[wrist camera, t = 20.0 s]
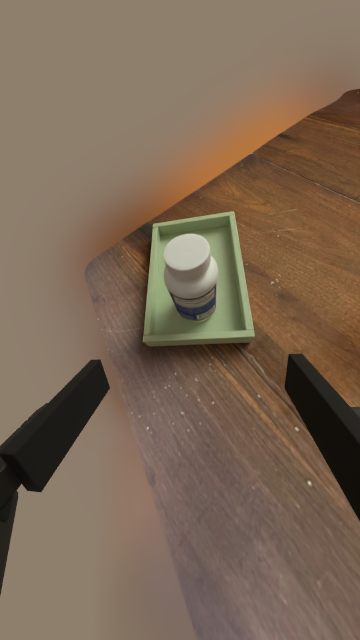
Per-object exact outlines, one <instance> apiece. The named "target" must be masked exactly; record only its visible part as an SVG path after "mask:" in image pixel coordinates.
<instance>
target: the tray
mask: <svg viewBox="0 0 360 640" xmlns="http://www.w3.org/2000/svg"><path fill="white" fill-rule="evenodd" d="M183 234H197V235H200V236H202V237H204V238H205V239H206V240H207V242H208V243H209V246H210V254H211V256H212V257H213V259H214V260H215V262H216V264H217V267H218V291H217V307H216V310H215V312H214V313H213V315H212V316H211V317H210V318H208V319H207V320H205V321H202V322H189V321H187V320H185V319H183V318H182V317H181V316H180V315H179V313H178V311H177V309H176V307H175V305H174V303H173V300H172V298H171V296H170V293H169V291H168V289H167V287H166V285H165V282H164V269H165V266H166V265H165V262H164V258H163V252H164V249H165V247H166V245H167V244H168V243H169V242H170V241H171V240H172V239H174V238H175V237H177V236H180V235H183ZM143 335H144V336H143V342H144V343H145V344H146V345H148V346H149V347H150V346H175V345H199V344H223V343H247V342H251V341H252V340H253V338H254V337H255V334H254V328H253V322H252V316H251V310H250V304H249V298H248V292H247V286H246V280H245V274H244V268H243V262H242V256H241V250H240V244H239V238H238V232H237V226H236V220H235V214H234V211H232V212H226V213H219V214H213V215H207V216H201V217H194V218H188V219H182V220H176V221H169V222H163V223H157V224H153V234H152V245H151V256H150V267H149V278H148V289H147V301H146V312H145V323H144V334H143Z"/></svg>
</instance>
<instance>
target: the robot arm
mask: <svg viewBox="0 0 360 640" xmlns="http://www.w3.org/2000/svg"><path fill="white" fill-rule="evenodd" d="M109 389H110V387H109V384H108V381H107V378H106V375H105V372H104V369H103V366H102V363H101V360H91V361H90V362H89V363H88V364H87V365H86V366H85V367H84V368H83V369H82V370H81V371H80V372H79V373H78V374H77V375H76V376H75V377H74V378H73V379H72V380H71V381H70V382H69V383H68V384H67V385H66V386H65V387H64V388H63V389H62V390H61V391H60V392H59V393H58V394H57V395H56V396H55V397H54V398H53V399H52V400H51V401H50V402H49V403H46V404H45V405H44V406H42V407H41V408H39V409H38V410H36V411H35V412H34V413H33V414H32V415H31V416H30V417H29V418H28V420H26V421H25V422H24V423H23V424H22V425H21V427H20V428H18V429H17V430H16V431H15V432H14V433H13V434H12V435H11V436H10V437H9V438H8V439H7V440H6V441H5V442H4V443H3V444H2V445H1V446H0V594H1V588H2V583H3V577H4V572H5V566H6V561H7V555H8V550H9V544H10V539H11V533H12V528H13V522H14V517H15V511H16V506H17V500H18V492H17V491H16V490H17V489H18V487H19V486H20V485H21V484H23V486H24V487H25V488H26V490H27V491H35V492H42V490H43V489H44V487H45V486H46V484H47V482H48V481H49V479H50V478H51V476H52V475H53V473H54V472H55V470H56V469H57V467H58V466H59V464H60V463H61V461H62V460H63V458H64V457H65V455H66V454H67V452H68V451H69V449H70V448H71V446H72V445H73V443H74V442H75V440H76V439H77V437H78V436H79V434H80V433H81V431H82V430H83V428H84V427H85V425H86V424H87V422H88V420H89V419H90V417H91V416H92V414H93V413H94V411H95V410H96V408H97V407H98V405H99V404H100V402H101V401H102V399H103V398H104V396H105V395H106V393H107V392H108V390H109ZM285 390H286V392H287V393H288V395H289V397H290V399H291V400H292V402H293V404H294V406H295V407H296V409H297V411H298V413H299V415H300V416H301V418H302V420H303V422H304V423H305V425H306V427H307V429H308V430H309V432H310V434H311V436H312V438H313V439H314V441H315V443H316V445H317V446H318V448H319V450H320V452H321V453H322V455H323V457H324V459H325V460H326V462H327V464H328V466H329V468H330V469H331V471H332V473H333V475H334V476H335V478H336V480H337V482H338V483H339V485H340V487H341V489H342V491H343V492H344V494H345V496H346V498H347V499H348V501H349V503H350V505H351V506H352V508H353V510H354V512H355V514H356V515H357V517H358V519H359V521H360V407H350V406H349V405H348V404H347V403H346V402H345V401H344V399H343V398H342V397H341V396H340V395H339V394H338V393H337V392H336V391H335V390H334V388H333V387H332V386H331V385H330V384H329V383H328V382H327V381H326V380H325V379H324V377H323V376H322V375H321V374H320V373H319V372H318V371H317V370H316V369H315V368H314V366H313V365H312V364H311V363H310V362H309V361H308V360H307V359H306V358H305V356H304V355H303V354H289V357H288V364H287V372H286V380H285Z"/></svg>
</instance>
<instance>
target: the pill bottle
mask: <svg viewBox="0 0 360 640" xmlns="http://www.w3.org/2000/svg"><path fill="white" fill-rule="evenodd" d="M163 258H164V262H165V265H166V266H165V269H164V282H165V285H166V287H167V289H168V291H169V293H170V296H171V298H172V300H173V303H174V305H175V307H176V309H177V311H178V313H179V315H180V316H181V317H182V318H183V319H185V320H187V321H189V322H202V321H205V320H207V319H208V318H210V317H211V316H212V315H213V313H214V312H215V310H216V307H217V291H218V267H217V264H216V262H215V260H214V259H213V257H212V256H211V254H210V246H209V243H208V242H207V240H206V239H205V238H204V237H202V236H200V235H197V234H183V235H180V236H177V237H175V238H174V239H172V240H171V241H170V242H169V243H168V244H167V245H166V247H165V249H164V252H163Z"/></svg>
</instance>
